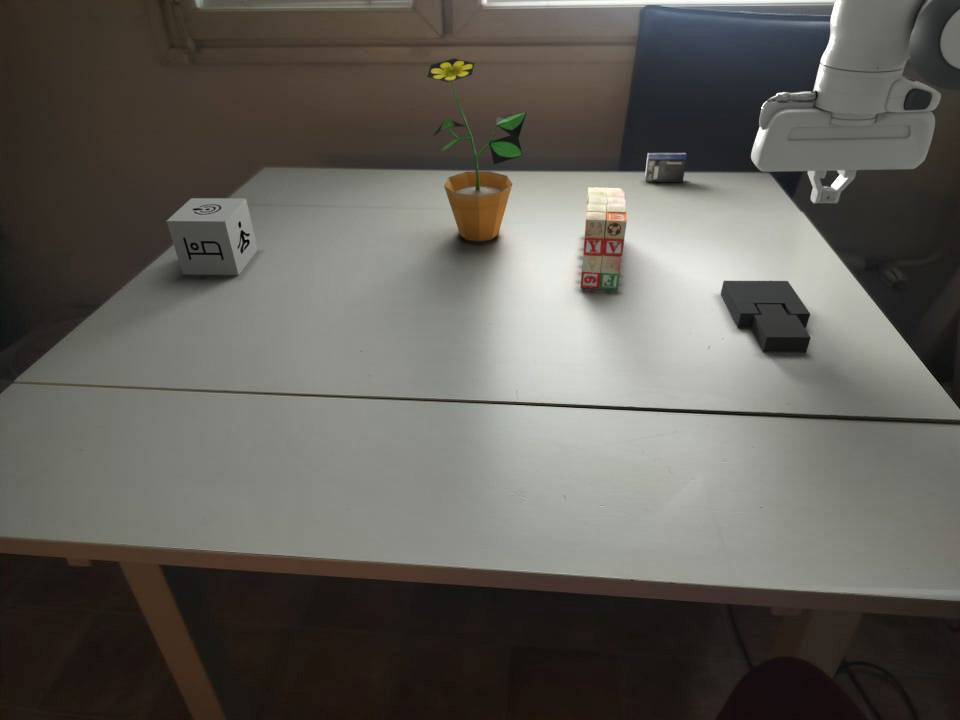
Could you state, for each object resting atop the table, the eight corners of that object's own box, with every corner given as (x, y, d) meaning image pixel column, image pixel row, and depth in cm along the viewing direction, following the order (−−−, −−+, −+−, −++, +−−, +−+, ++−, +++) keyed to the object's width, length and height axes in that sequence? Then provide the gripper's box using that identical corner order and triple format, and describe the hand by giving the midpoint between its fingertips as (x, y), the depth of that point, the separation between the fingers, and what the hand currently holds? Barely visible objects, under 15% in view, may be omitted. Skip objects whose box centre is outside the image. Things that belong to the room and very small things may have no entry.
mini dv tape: (645, 181, 148) (648, 155, 145) (644, 179, 150) (647, 152, 146) (682, 181, 148) (687, 155, 144) (681, 179, 149) (685, 152, 146)
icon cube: (183, 274, 116) (166, 221, 111) (205, 249, 125) (191, 198, 119) (238, 275, 116) (224, 221, 110) (257, 249, 124) (245, 198, 118)
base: (783, 294, 107) (787, 280, 105) (806, 328, 98) (810, 313, 97) (720, 294, 107) (723, 280, 106) (737, 327, 99) (740, 313, 98)
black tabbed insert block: (785, 318, 101) (789, 304, 99) (806, 352, 93) (811, 337, 92) (744, 318, 101) (748, 304, 100) (762, 351, 94) (766, 337, 92)
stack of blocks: (584, 233, 127) (589, 170, 120) (617, 235, 126) (624, 171, 119) (580, 288, 110) (585, 218, 102) (618, 290, 109) (627, 220, 102)
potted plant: (412, 233, 128) (397, 67, 111) (484, 207, 138) (482, 50, 121) (472, 264, 117) (466, 85, 100) (546, 233, 127) (553, 65, 110)
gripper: (773, 99, 77) (749, 212, 85) (956, 94, 76) (915, 209, 84) (756, 86, 82) (735, 194, 90) (928, 82, 81) (891, 191, 89)
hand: (823, 201), depth 87 cm, fingers closed
